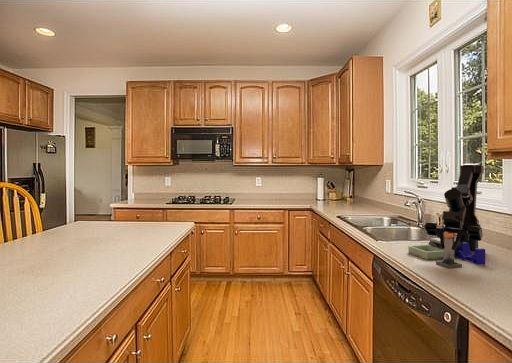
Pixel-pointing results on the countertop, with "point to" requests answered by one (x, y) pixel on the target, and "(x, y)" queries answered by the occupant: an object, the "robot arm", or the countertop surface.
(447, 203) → the robot arm
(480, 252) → the cable clip
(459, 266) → the pin collar
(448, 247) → the pin
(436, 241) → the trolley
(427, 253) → the tray
